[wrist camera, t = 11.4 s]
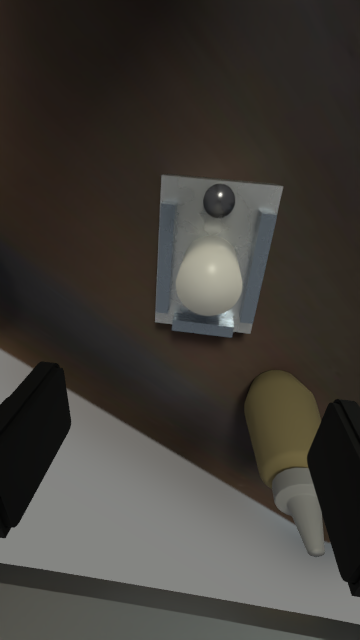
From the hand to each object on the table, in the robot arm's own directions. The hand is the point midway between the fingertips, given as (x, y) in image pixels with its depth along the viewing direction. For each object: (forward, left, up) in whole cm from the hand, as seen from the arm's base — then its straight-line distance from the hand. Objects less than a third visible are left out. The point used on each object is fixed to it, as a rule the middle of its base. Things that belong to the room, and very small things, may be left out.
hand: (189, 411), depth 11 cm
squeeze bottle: (+16, +11, -23) cm, 30 cm away
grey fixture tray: (0, +1, -22) cm, 22 cm away
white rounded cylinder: (0, 0, -19) cm, 19 cm away
